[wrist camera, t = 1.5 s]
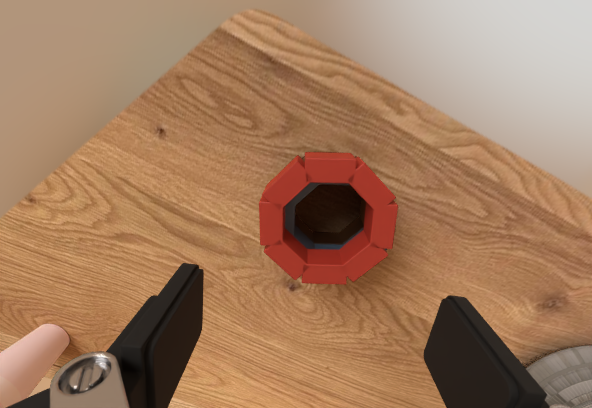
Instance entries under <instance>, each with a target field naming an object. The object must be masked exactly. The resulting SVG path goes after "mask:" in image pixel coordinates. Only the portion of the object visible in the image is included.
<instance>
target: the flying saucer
mask: <svg viewBox="0 0 592 408" xmlns="http://www.w3.org/2000/svg"><path fill="white" fill-rule="evenodd" d="M525 369H526V370H527V371H528V372H529V373H530V374H531V376H532V377H533V378H534V379H535V380H536V382H537V383H538V384H539V385H540V386H541V388H542V389H543V390H544V391H545V392H546V393H547V397H546V399H545V401H546V402H547V403H548V405H549V406H551V405H554V404H562V405H565V406H569V407H571V408H592V345H585V346H577V347H571V348H567V349H563V350H559V351H556V352H553V353H551V354H548V355H546V356H544V357H542V358H540V359H538V360H537V361H535V362H533V363H532V364H530V365H529V366H528V367H526V368H525Z"/></svg>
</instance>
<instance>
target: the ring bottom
mask: <svg viewBox="0 0 592 408" xmlns="http://www.w3.org/2000/svg"><path fill="white" fill-rule="evenodd" d="M319 153H334V152H319ZM356 157H357V156H355V158H356ZM302 160H303V161H304V162H305V156H304V157H303V158H302ZM365 209H366V201H365V200H364V199H363V198H362V197H361V207H360V216H359V217H358V218H357V219H356V220H354V221H353V222H352V223H351V224H349V225H348V226H347V227H346V228H344V229H343V230H342V231H341V232H340V233H329V232H313V231H312V230H311V229H310V228H309V227H308V226H307V225H306V224H305V223H304V222H303V221H302V220H301V219H300V218H299V217H298V216H297V215H296V214H295V225H296V226H297V227H298V228H299V229H300V230H301V231H302V232H303V233H304V234H305V235H306V236H307V237H308V238H309V239H310V240H311V241H312V242H313V243H314V244H334V245H343V244H344V243H346V242H347V241H348V240H350V239H351V238H352V237H353V236H355V235H356V234H357V233H358V232H360V231H361V230H362V229H363V228H364V219H365Z"/></svg>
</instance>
